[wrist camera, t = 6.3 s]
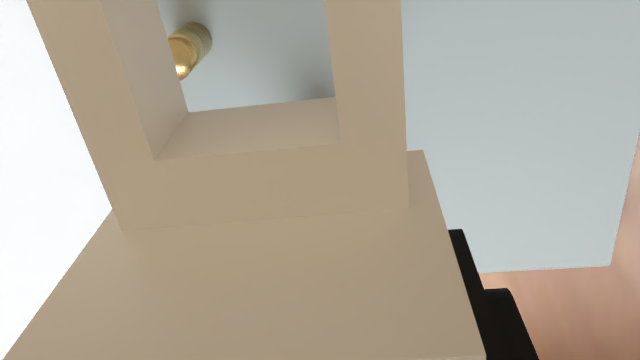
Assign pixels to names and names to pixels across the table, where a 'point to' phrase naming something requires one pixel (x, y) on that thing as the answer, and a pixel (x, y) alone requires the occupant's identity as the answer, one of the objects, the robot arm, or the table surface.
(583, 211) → the post board
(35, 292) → the table surface
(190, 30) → the dowel pin
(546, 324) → the table surface
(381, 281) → the cream stepped socket block
